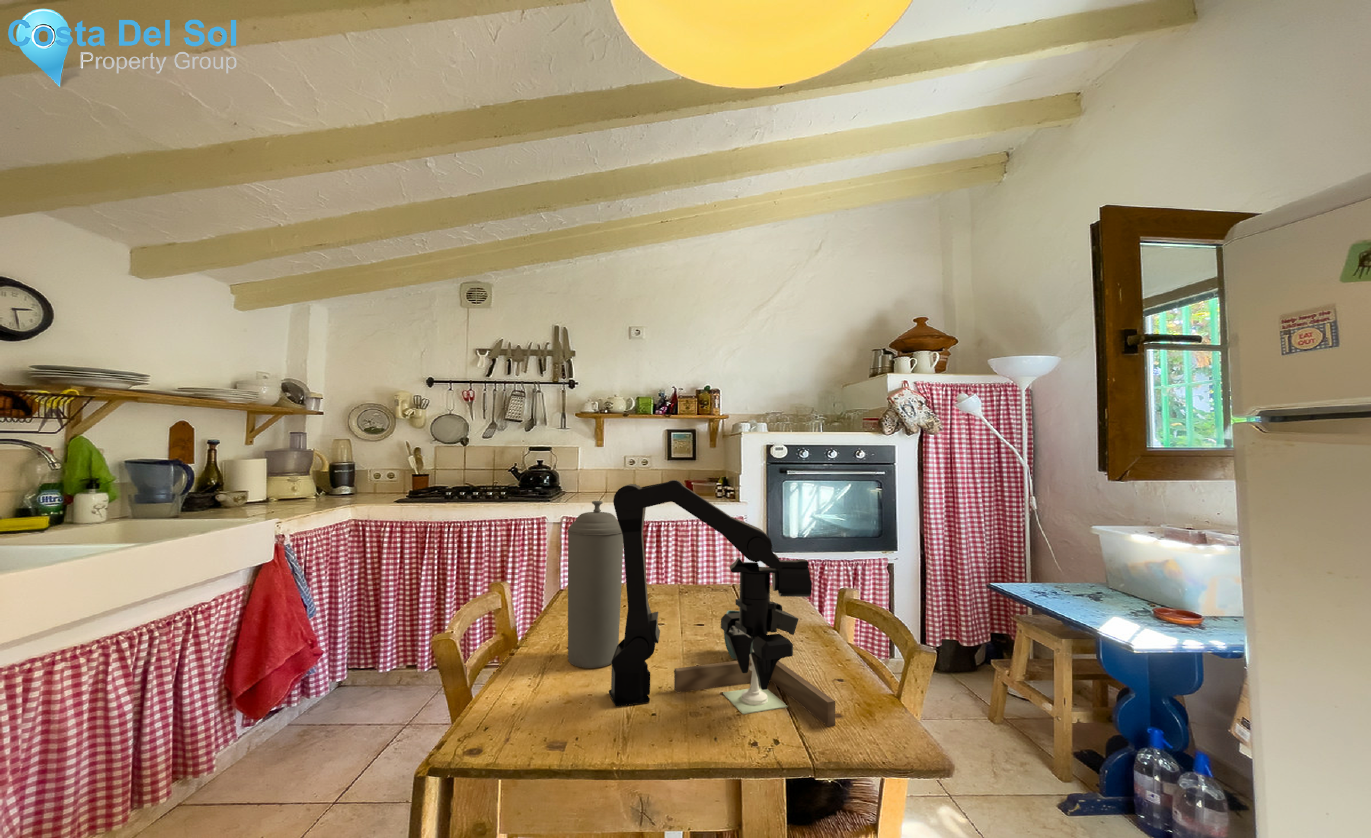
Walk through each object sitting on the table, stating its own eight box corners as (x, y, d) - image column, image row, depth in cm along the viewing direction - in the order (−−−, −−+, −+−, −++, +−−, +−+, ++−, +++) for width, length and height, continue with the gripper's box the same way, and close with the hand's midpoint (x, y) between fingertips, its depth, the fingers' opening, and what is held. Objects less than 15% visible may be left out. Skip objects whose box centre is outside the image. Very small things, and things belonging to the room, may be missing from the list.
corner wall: (718, 746, 86) (719, 719, 86) (674, 689, 106) (674, 668, 107) (835, 725, 93) (835, 701, 93) (772, 676, 114) (772, 656, 114)
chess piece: (737, 702, 101) (738, 646, 102) (745, 691, 105) (746, 638, 106) (763, 707, 99) (764, 650, 100) (770, 696, 103) (771, 642, 104)
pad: (742, 714, 97) (742, 713, 97) (722, 693, 105) (722, 692, 105) (787, 707, 100) (787, 706, 100) (764, 687, 108) (764, 686, 108)
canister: (553, 658, 122) (557, 500, 124) (601, 646, 130) (605, 497, 133) (582, 676, 112) (587, 504, 115) (633, 661, 121) (636, 501, 123)
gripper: (819, 605, 97) (819, 696, 96) (769, 582, 115) (768, 658, 114) (763, 610, 94) (762, 704, 93) (720, 585, 111) (719, 664, 110)
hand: (754, 680), depth 102 cm, fingers open, 8 cm apart
